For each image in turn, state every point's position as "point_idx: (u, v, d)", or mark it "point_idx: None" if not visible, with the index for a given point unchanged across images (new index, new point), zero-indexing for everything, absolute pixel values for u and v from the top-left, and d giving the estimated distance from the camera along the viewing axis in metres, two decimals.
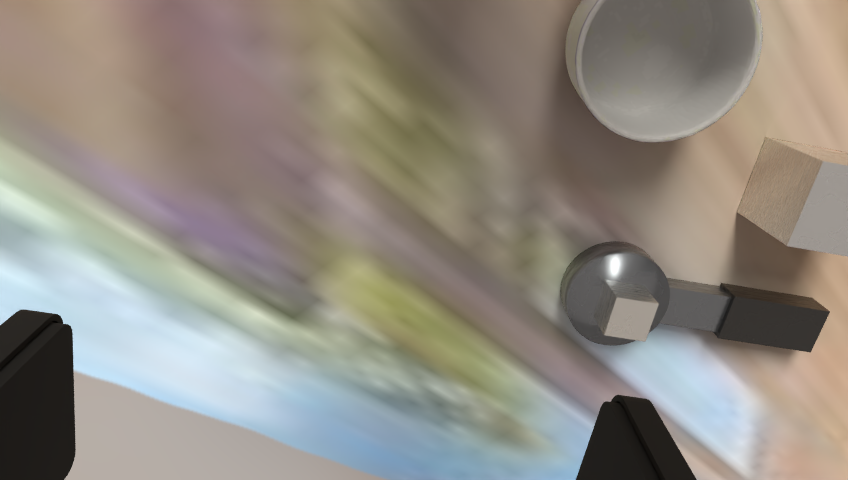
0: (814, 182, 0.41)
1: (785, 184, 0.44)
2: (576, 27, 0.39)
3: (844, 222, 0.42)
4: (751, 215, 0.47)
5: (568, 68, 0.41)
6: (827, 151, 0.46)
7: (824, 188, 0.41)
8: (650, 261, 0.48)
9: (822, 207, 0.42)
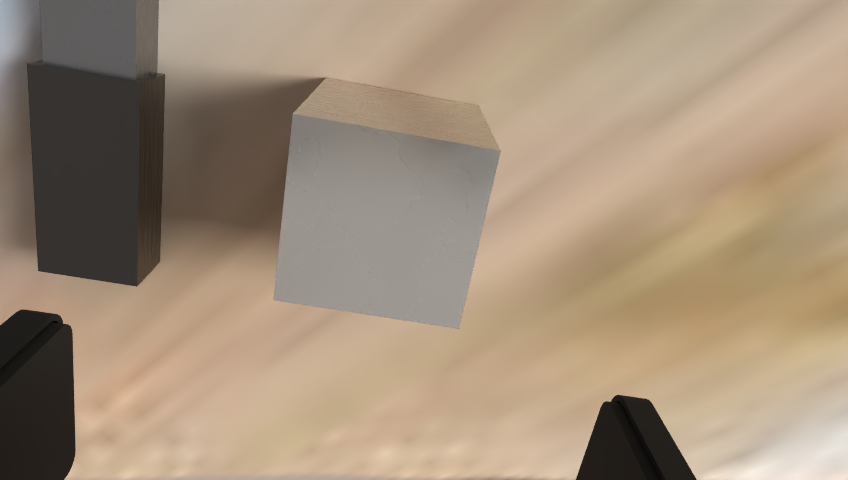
0: (450, 143, 0.18)
1: (418, 117, 0.20)
2: None
3: (358, 229, 0.19)
4: (330, 87, 0.22)
5: None
6: None
7: (437, 168, 0.18)
8: None
9: (390, 174, 0.18)
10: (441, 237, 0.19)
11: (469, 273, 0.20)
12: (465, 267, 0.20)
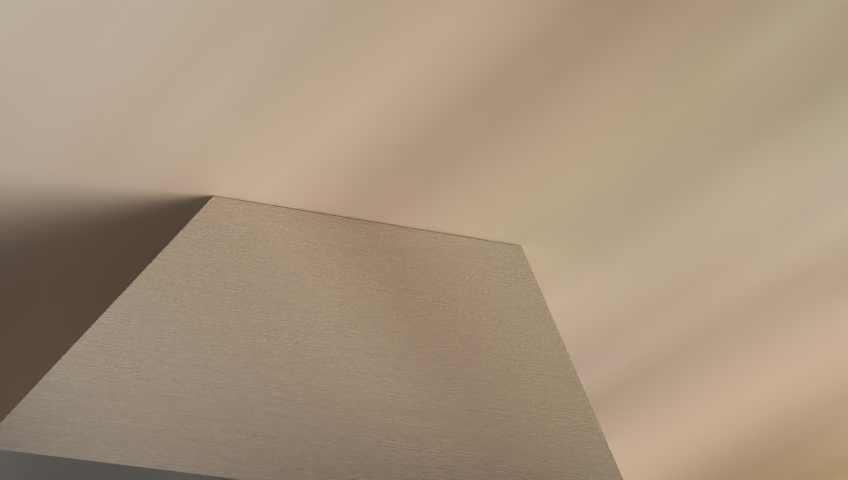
0: None
1: (396, 343, 0.08)
2: None
3: None
4: (204, 237, 0.10)
5: None
6: None
7: None
8: None
9: None
10: None
11: None
12: None
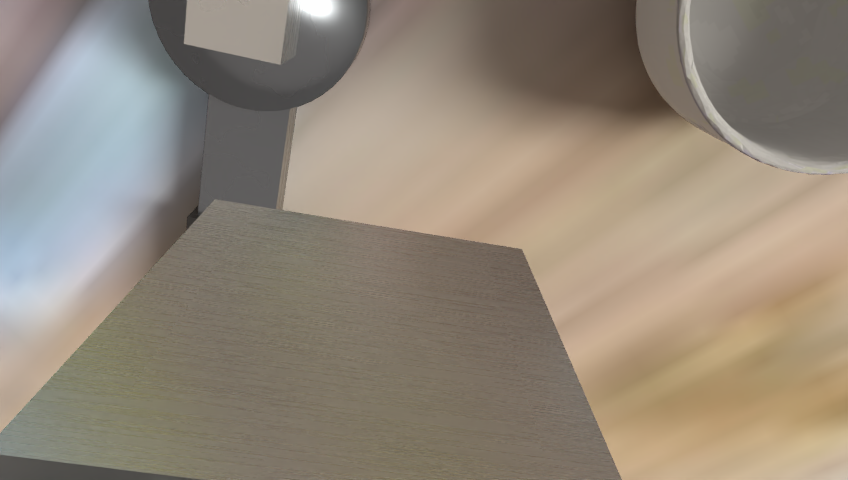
0: None
1: (397, 347, 0.08)
2: None
3: None
4: (205, 241, 0.10)
5: None
6: None
7: None
8: (349, 62, 0.24)
9: None
10: None
11: None
12: None
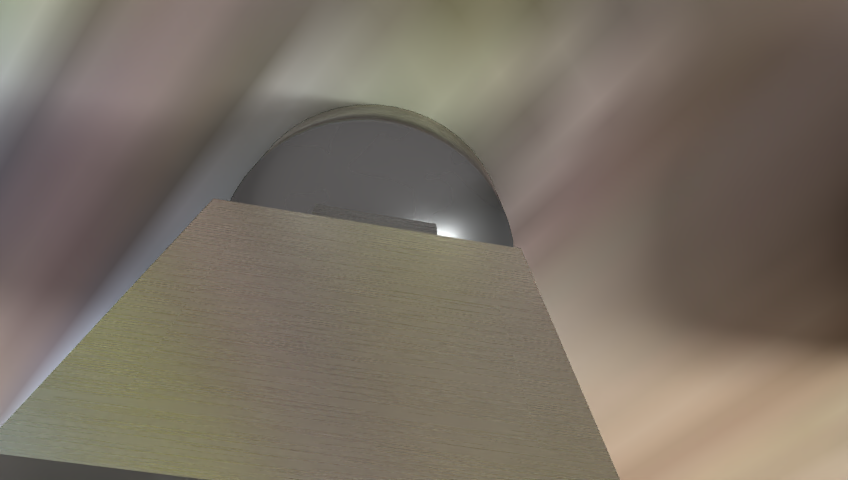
0: None
1: (395, 346, 0.08)
2: None
3: None
4: (204, 240, 0.10)
5: None
6: None
7: None
8: None
9: None
10: None
11: None
12: None
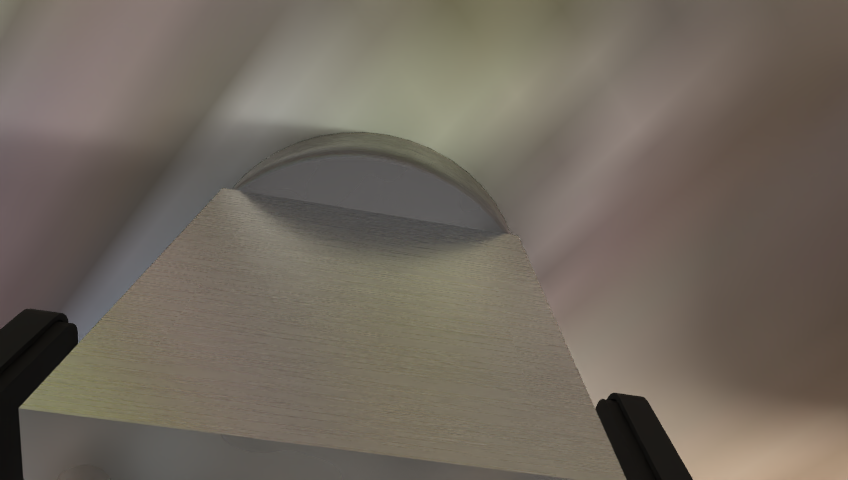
0: (489, 470, 0.06)
1: (399, 322, 0.09)
2: None
3: None
4: (215, 226, 0.11)
5: None
6: None
7: None
8: None
9: None
10: None
11: None
12: None
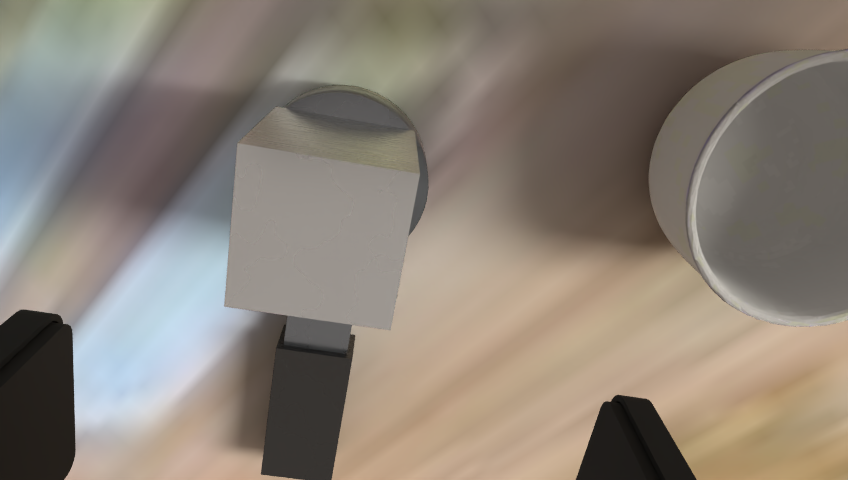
0: (376, 167, 0.21)
1: (353, 143, 0.23)
2: None
3: (297, 242, 0.22)
4: (277, 116, 0.25)
5: (767, 54, 0.26)
6: None
7: (365, 190, 0.21)
8: (413, 226, 0.29)
9: (324, 194, 0.21)
10: (371, 249, 0.22)
11: (397, 281, 0.22)
12: (393, 275, 0.22)
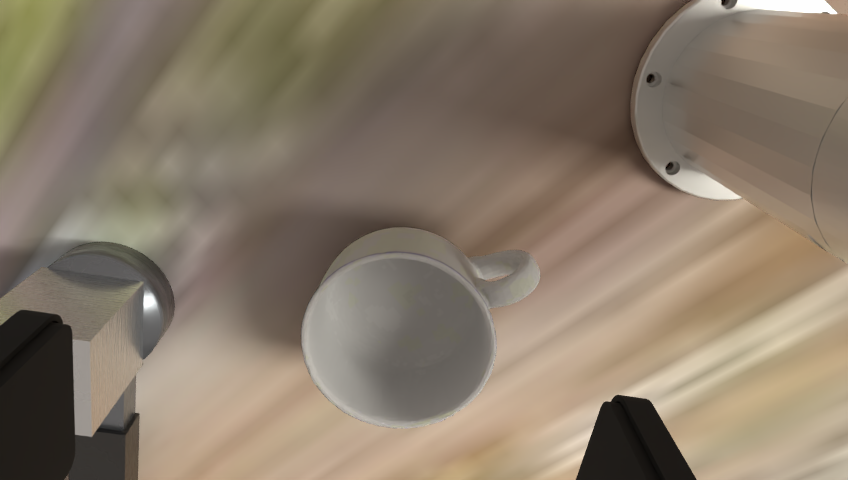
0: None
1: (67, 309, 0.34)
2: (422, 244, 0.35)
3: None
4: (30, 281, 0.36)
5: (376, 236, 0.36)
6: (132, 350, 0.38)
7: None
8: (154, 344, 0.40)
9: None
10: None
11: (89, 406, 0.33)
12: (86, 402, 0.33)
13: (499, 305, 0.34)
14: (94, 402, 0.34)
